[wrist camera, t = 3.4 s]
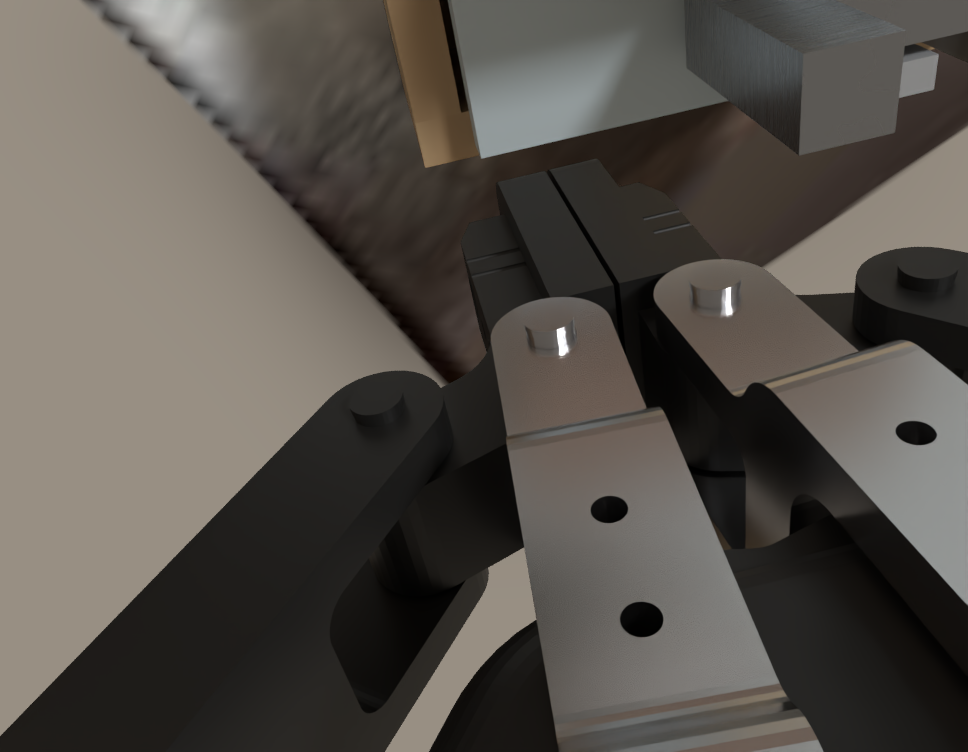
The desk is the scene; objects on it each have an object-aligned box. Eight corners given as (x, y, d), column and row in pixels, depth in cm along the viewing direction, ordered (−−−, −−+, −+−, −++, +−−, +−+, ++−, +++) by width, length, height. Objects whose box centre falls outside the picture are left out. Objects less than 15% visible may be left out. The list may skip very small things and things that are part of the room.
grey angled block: (1027, -93, 19) (1257, -53, 14) (1011, -8, 20) (1221, 55, 15) (683, -14, 19) (803, 53, 14) (686, 68, 20) (798, 155, 15)
